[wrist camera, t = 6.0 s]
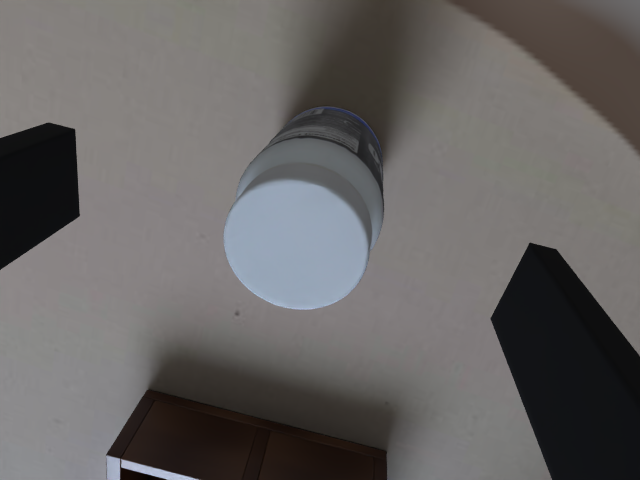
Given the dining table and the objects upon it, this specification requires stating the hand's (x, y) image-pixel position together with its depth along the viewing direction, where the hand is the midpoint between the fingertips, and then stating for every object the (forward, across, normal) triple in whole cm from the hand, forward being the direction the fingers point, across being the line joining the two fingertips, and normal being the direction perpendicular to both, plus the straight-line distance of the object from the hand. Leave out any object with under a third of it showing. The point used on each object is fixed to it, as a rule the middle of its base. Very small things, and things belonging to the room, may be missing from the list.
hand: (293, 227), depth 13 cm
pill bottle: (+7, 0, 0) cm, 7 cm away
